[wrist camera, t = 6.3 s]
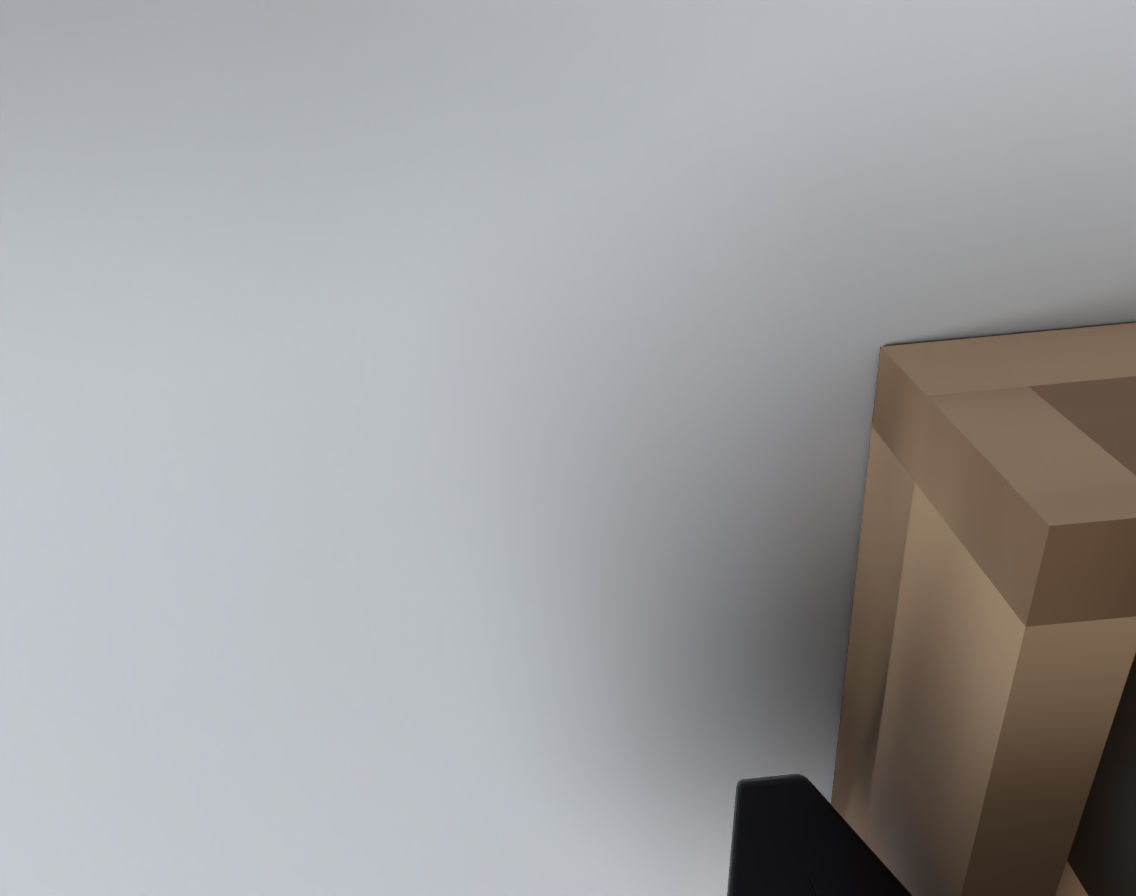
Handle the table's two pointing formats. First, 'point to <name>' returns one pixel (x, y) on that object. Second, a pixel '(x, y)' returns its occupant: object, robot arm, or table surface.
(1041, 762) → the tray
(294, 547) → the table surface
